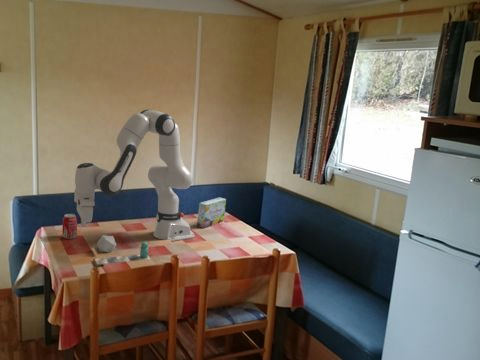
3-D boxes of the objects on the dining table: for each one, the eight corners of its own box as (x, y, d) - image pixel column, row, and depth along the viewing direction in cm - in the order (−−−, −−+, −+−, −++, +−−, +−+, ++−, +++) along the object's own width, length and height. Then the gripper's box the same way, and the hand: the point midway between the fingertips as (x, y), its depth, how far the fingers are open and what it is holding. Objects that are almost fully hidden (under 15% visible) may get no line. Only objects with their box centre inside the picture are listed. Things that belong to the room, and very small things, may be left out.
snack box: (203, 229, 279) (205, 204, 275) (196, 226, 282) (198, 202, 278) (224, 221, 296) (226, 198, 293) (217, 219, 299) (219, 196, 296)
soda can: (64, 234, 249) (64, 212, 246) (78, 235, 249) (78, 213, 247) (60, 239, 242) (61, 217, 239) (74, 240, 243) (75, 217, 240)
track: (147, 255, 232) (147, 253, 231) (151, 261, 226) (152, 259, 225) (93, 261, 220) (93, 258, 219) (96, 267, 214) (96, 264, 213)
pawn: (146, 255, 229) (147, 240, 228) (148, 258, 226) (149, 243, 224) (139, 255, 228) (140, 240, 226) (141, 258, 225) (142, 243, 223)
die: (105, 258, 225) (118, 241, 227) (90, 247, 226) (103, 230, 227) (109, 258, 234) (122, 241, 235) (95, 247, 234) (108, 231, 236)
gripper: (73, 192, 228) (73, 219, 230) (80, 203, 210) (79, 233, 213) (87, 192, 230) (86, 219, 233) (95, 203, 213) (94, 232, 216)
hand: (83, 225), depth 223 cm, fingers closed
